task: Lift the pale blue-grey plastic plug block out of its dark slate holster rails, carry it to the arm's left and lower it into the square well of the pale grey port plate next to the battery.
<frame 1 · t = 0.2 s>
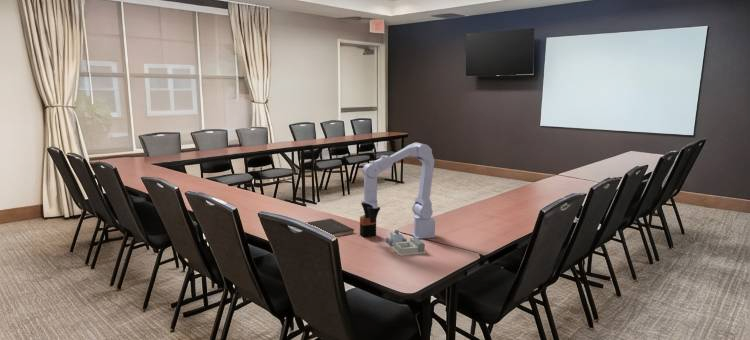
hand: (370, 220, 202), 10 cm above the table, fingers open, 7 cm apart
battery: (367, 235, 212), on the table
hardcover book: (328, 231, 220), on the table
plug: (396, 243, 202), on the table
port: (405, 250, 191), on the table
holster: (396, 242, 202), on the table
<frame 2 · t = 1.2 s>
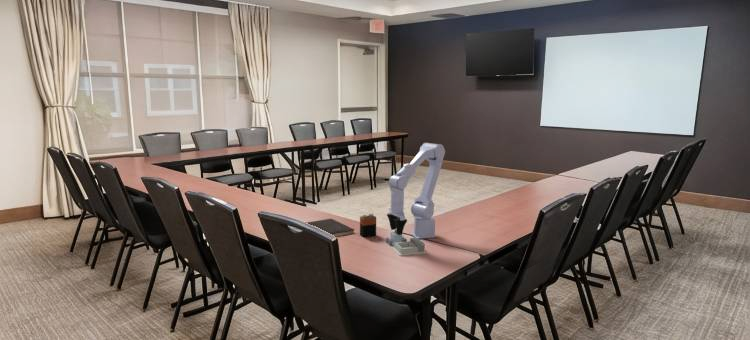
hand: (396, 231, 201), 5 cm above the table, fingers open, 7 cm apart
nothing on the table moved.
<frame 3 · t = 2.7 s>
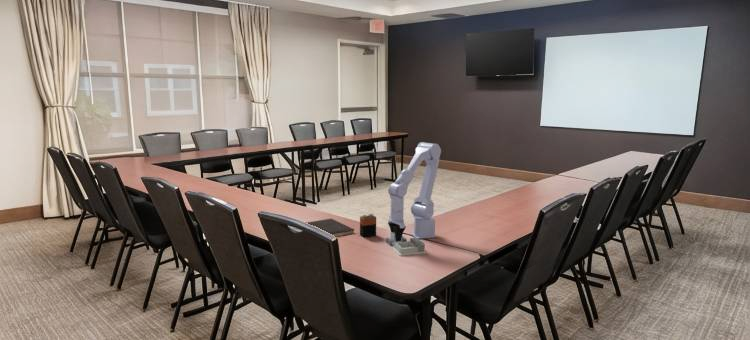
hand: (396, 239, 201), 2 cm above the table, fingers closed on plug, 4 cm apart
plug: (396, 242, 202), on the table, touching gripper
everything else where it was.
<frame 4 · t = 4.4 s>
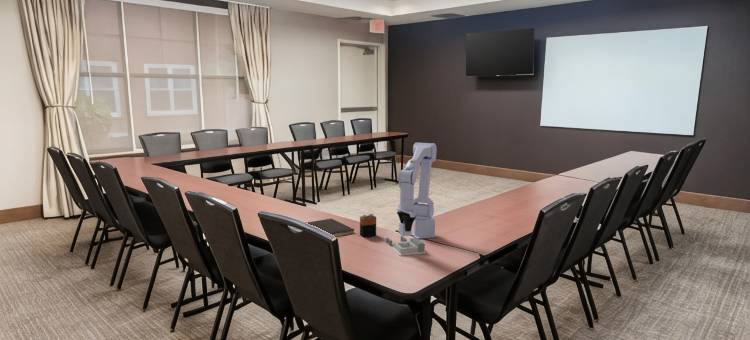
hand: (406, 229, 190), 9 cm above the table, fingers closed on plug, 4 cm apart
plug: (405, 234, 190), point 7 cm above the table, touching gripper
everything else where it was.
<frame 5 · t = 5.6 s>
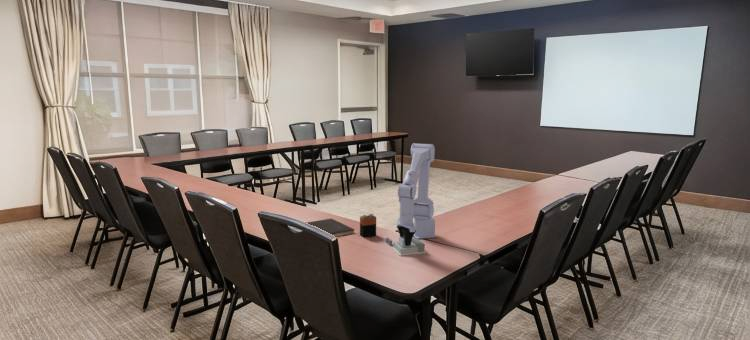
hand: (405, 243, 191), 3 cm above the table, fingers closed on plug, 4 cm apart
plug: (404, 248, 191), point 1 cm above the table, touching gripper
everything else where it was.
when the fingers open (3 cm above the table, at t = 6.4 s): plug stays where it is, resting on port.
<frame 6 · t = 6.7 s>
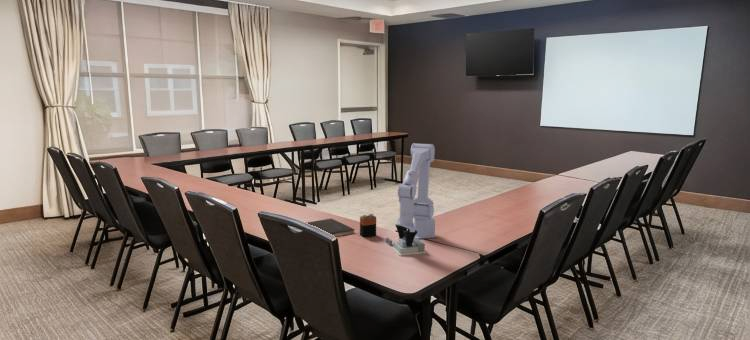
hand: (405, 243, 191), 3 cm above the table, fingers open, 7 cm apart
plug: (404, 250, 191), resting on port
everything else where it was.
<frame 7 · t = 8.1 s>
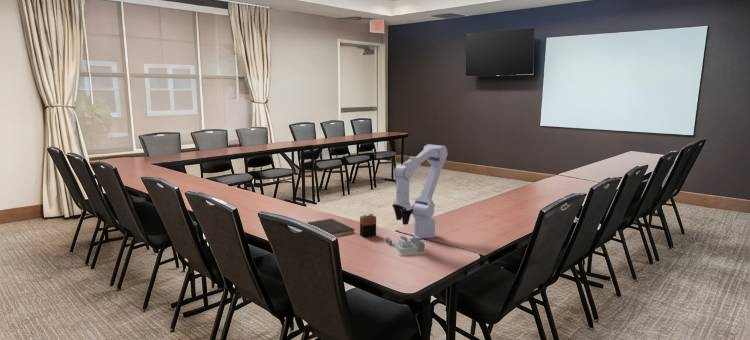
hand: (402, 222, 199), 10 cm above the table, fingers open, 7 cm apart
nothing on the table moved.
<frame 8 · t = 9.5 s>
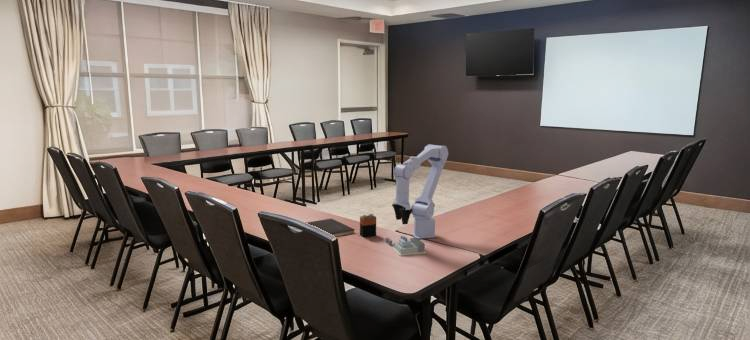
hand: (401, 221, 200), 10 cm above the table, fingers open, 7 cm apart
nothing on the table moved.
at the end: plug 0.3 cm off-centre on the port, point 0.4 cm above the port's base; plug tilted 0°; the gripper is holding nothing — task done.
